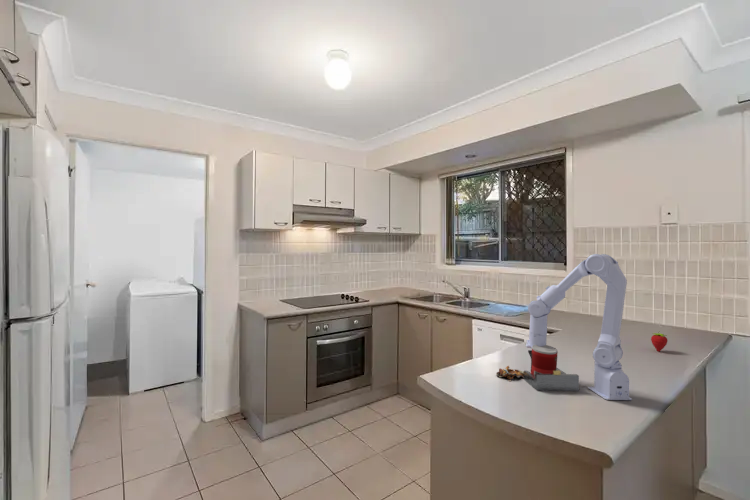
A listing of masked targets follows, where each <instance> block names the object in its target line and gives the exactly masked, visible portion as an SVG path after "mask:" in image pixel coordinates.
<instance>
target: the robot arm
mask: <svg viewBox="0 0 750 500" xmlns="http://www.w3.org/2000/svg"><path fill="white" fill-rule="evenodd" d="M591 275H594V276H597V277H598V278H599V279H600V280H601V281H603V282H604V284H606V286H607V287H606V292H605V301H604V308H603V315H602V322H601V329H600V335H599V337H598V340H597V345H596V347H595V348H594V350H593V352H592V358H593V360H594V370H593V371H594V373H593V374H594V375H593V376H594V377H593V378H594V381H593V382H594V383H593V386H587V388H588V389H589V390H590V391H592V392H593V393H595V394H597V395H598V396H599V397H601V398H603V399H604V400H608V401H609V400H610V401H611V400H612V401H632V400H633V399H632V397H630V379H629V377H628V375H627V374H626V373H625V372H624V371H623V368H622V367H623V366H622V364H621V362H620V360H621V359H622V358H623V355H624V352H623V348H622V346H621V343H622V339H621V336H620V335H621V328H622V322H623V321H622V320H623V315H624V306H625V299H626V293H627V292H626V291H627V284H628V282H627V281H628V280H627V278H626V275H625V274H624V272H623V271H622V269H621V267H620V264H619V262H618V260H616V259H614V258H613V257H612V256H611V255H609V254H605V253H601V254H600V253H593V254H591V255H589V256H588V257H586V258H585V259H584V260H582V261H581V262H580V263H579V264H578V265H577V266H575V267H574V268H573V270H571V271H570V272H569V273H568V274H567V275H566V276H565V277H564V278H563V279H562V280H561V281H560V282H559V283H558V284H557V285H556V284H552V285H548V286H547V287H545V290H544V291H543V293H541V295H537V296H536V300H532V301H530V302H529V304H528V305H527V311H528V313H529V314H530V315H529V317H530V318H529V330H528V331H529V332H528V333H529V334H528V335H529V336H528V339H527V340H525V341H526V344H525V347H526V348H527V349H531V350H528V351H527V352H528V355H529V356H530V357H529V358H531V356H532V346H533V345H537V346H545V345H547V337H548V335H547V334H548V315H549V314H550V313H551V310H552V309H553V308H554V307H556V306H557V305H558V304H560V302H561V301H563V300H564V299H565V298H566V292H567V291H568V290H569V289H571V288H572V287H573V286H575V284H577V283H578V282H579V281H581V279H583V278H584V277H588V276H591Z"/></svg>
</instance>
